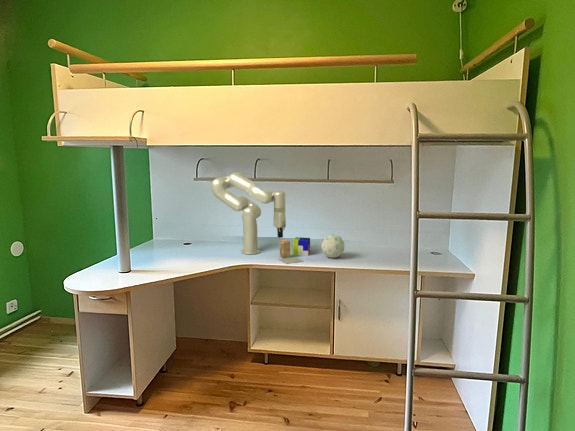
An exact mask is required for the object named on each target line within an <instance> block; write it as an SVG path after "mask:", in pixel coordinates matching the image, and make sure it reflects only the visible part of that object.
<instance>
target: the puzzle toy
mask: <svg viewBox="0 0 575 431" xmlns="http://www.w3.org/2000/svg"><path fill="white" fill-rule="evenodd" d="M310 252H311V238H310V237H301V236H296V237H295V238H294V239H293V240H292V255H293V256H308V257H309V254H310Z"/></svg>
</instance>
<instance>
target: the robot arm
mask: <svg viewBox="0 0 575 431" xmlns="http://www.w3.org/2000/svg"><path fill="white" fill-rule="evenodd" d="M233 187H234V188H235V187H236V188H238V189H239V190H241V191H243V192H245V193H246V194H247V195H249V196H250V197H251V198H253V199H254V200H256V201H258V202H259V203H262V204H270V203H272V202H273V220H272V221H273V222H272V223H273V227H275V228H276V231H277V238H278V239H281V238H284V230H285V229H286V226H287V220H286V219H287V218H286V193H285V191H274V190H267V191H264V190H262V189H260V188H259V187H258V186H256V184H255V182H254V181H253V180H251V179H249V178H247V177H246V176H245V173H242V172H241V171H237V172H233V173H231V174H229V175H226V176H221V177H216V178H214V179H213V180H212V182H211V184H210V188H211V192H212V194H213V196H214V197H215V198H216V199H218V200H219V201H220V202H222V203H223V204H225V205H226V206H227V207H229V208H230V209H232V210H233V211H235V212H241V211H242V212H241V218H242V230H243V234H242V235H243V236H242V239H243V240H242V242H243V245H242V246H243V247H242V248H243V249H242V250H241V251H240V252H241V254H243V255H257V254H259V253H260V249H258V222H257V219H258V218H259V217H260V216H261V214H262V209H261V207H260V206H259V205H258V204H256V202H254V201H252V200H250V199H249V198H248V197H245V196H243V195H242V196H237V195H235V194H234V193H232V192H231V191H229V190H228V189H231V188H233Z"/></svg>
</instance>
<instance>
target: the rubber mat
mask: <svg viewBox="0 0 575 431" xmlns="http://www.w3.org/2000/svg"><path fill="white" fill-rule="evenodd" d="M278 260H279V261H280V262H282V263H284V264H286V265H289V264H295V263H303V262H305V260H302V259H301V258H298V257H296V256H293V257H291V256H290V258H284V259H283V258H279V259H278Z"/></svg>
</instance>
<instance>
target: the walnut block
mask: <svg viewBox="0 0 575 431" xmlns="http://www.w3.org/2000/svg"><path fill="white" fill-rule="evenodd" d="M279 258H280V259H284V258H291V241H290V240H288V239H284V240H283V239H281V240H279Z"/></svg>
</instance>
